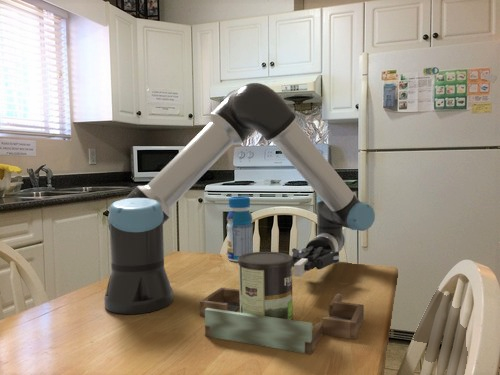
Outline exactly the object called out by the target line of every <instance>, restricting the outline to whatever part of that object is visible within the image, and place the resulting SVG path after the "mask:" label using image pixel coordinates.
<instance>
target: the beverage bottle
mask: <svg viewBox="0 0 500 375" xmlns="http://www.w3.org/2000/svg"><path fill="white" fill-rule="evenodd" d="M250 206H251V198H250V196H230V197H229V198H228V208H229V209H230V210H229V212H228V214H227V217H226V221H227V224H226V234H227V237H226V238H227V259H228V260H229V261H231V262H236V263H239V262H238V257H239V256H241V255H244V254H247V253H253V252H254V251H253V248H254V247H253V240H254V239H253V237H254V236H253V230H254V229H253V228H254V224H253V223H252V221H253V216H252V214H251V212H250V210H249V208H250Z"/></svg>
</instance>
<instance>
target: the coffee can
mask: <svg viewBox="0 0 500 375" xmlns="http://www.w3.org/2000/svg"><path fill="white" fill-rule="evenodd" d="M292 262H293V257H292V255H290V254H288V253H285V252H284V253H283V252H279V251H278V252H277V251H256V252H255V251H253V253H247V254H244V255H241V256H239V257H238V262H237V263H238V283H239V284H238V286H239V289H238V290H239V292H240V308H239V313H246V314H253V315H260V316H267V317H274V318H281V319H288V320H294V318H293V314H294V313H293V267H292Z"/></svg>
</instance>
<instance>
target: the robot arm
mask: <svg viewBox="0 0 500 375" xmlns="http://www.w3.org/2000/svg"><path fill="white" fill-rule="evenodd" d="M254 131H256V132H258V133H259V134H260V135H261V136H262V137H263V138H264V139H265V140H266V142H271V143H273V144H274V145H275V146H276V147H277V148H278V150H279V151H280V152H281V153H282V155H284V157H285V158H286V159H287V160H288V161H289V163H290V164H291V165H292V166H293V168H295V169H296V171H297V172H298V173H299V175H301V177H302V178H303V179H304V180H305V182H307V184H308V185H309V186H310V187H311V189H312V190H314V192H315V193H316V195H317V198H316V199H317V200H316V219H317V220H316V223H317V224H316V226H317V227H316V236H314V237H313V238H312V239H311V240H310V241H309V242H307V244H306V246H305V247H304V248H302V249H301V250H300V249H297V248H292V249H291V256H292V257H293V262H292V268H293V276H294V277H298V278H300V277H302V276H303V275H304V274H305V273H306V272H308V271H312V270H313V269H315V268H316V270H321V269H325V268H326V267H328V266H330V265H333V264H335V263H339V262H340V252H341V251H342V249H343V248H344V246H345V243H346V237H345V234H344V233H343V227H344V228H346V229H349V230H352V231H358V232H359V231H360V232H362V231H363V232H365V231H366V230H368V229H370V228H371V227H372V226H373V224H374V222H375V221H376V220H375V219H376V213H375V210H374V208H373V207H372V205H370V204H368V203H366V202H364V201H360V199H359V198H358V197H357V196H356V195H355V193H354V192H353V191H352V190H351V188H350V187H349V186H348V185H347V183H346V182H345V181H344V180H343V179H342V177H341V176H340V175H339V174H338V172H337V171H336V170H335V169H334V167H333V166H332V165H331V164H330V162H328V160H327V159H326V157H325V156H324V155H323V154H322V153H321V151H320V150H319V149H318V148H317V147H316V145H315V144H314V142H313V141H312V140H311V139H310V138H309V137H308V135H307V133H305V131H304V130H303V129H302V128H301V127H300V125H299V124H298V123H297V115H296V114H295V112H294V111H293V110H292V109H291V107H290V106H289V105H288V104H287V103H286V101H285V100H283V98H282V97H281V96H280V95H279V94H278V93H277V92H276V91H275V90H274V89H272V88H271V87H269V86H267V85H266V84H263V83H259V82H252V83H251V82H250V83H246V84H245V85H243V86H241V87H239V88H237V89H234V90H232V91H230V92H228V93H227V94H226V95H225V96H224V97H223V98H222V99H221V101H220V103H219V104H218V106H216V107H215V108H214V109H213V110H212V111H211V112H210V114H209V123H207V124H206V125H205V126H204V127H203V129H201V130H200V131H199V132H198V134H196V135H195V137H193V139H192V140H190V141H189V142H188V143H187V144H186V146H184V147H183V148H182V150H181V151H179V152H178V153H177V154H176V155H175V156H174V158H173V159H171V160H170V161H169V162H168V163H167V164H166V165H165V166H164V167H163V168H162V169H161V170H160V171H159V172H158V173H157V174H156V175H155V176H154V177H153V178H152V179H151V181H149V182H148V183H147V184H145V185H137V186H136V187H135V188H134V189H133V190H132V191H131V192H130V193H129V194H128V195H127V196H125V198H123V199H119V200H116V201H114V202H113V203H111V204H110V206H109V209H108V210H109V213H108V218H107V219H108V220H107V222H108V225H107V226H108V231H109V240H110V264H111V271H110V277H109V279H108V282H107V287H106V290H105V293H104V297H103V298H104V308H105V309H106V310H107V311H108V312H111V313H114V314H119V315H120V314H121V315H123V314H124V315H134V314H135V315H136V314H137V315H139V314H143V313H144V314H146V313H150V312H154V311H158V310H161V309H163V308H166V307H168V306H169V305H171V304H172V302H173V301H174V300H173V299H174V295H173V294H174V293H173V292H174V291H173V287H172V286H171V283H170V282H171V281H170V279H169V276H168V274H167V271H166V268H165V254H164V253H165V249H164V248H165V247H164V245H165V244H164V224H165V223H166V222H167V221H168V220H169V219H170V218H171V209H172V208H173V206H174V205H175V204H176V203H177V202H179V200H180V199H181V198H182V197H183V196H184V195H185V194H186V193H187V192H188V191H189V190H190V189H191V188H192V187H193V186H194V185H195V184H196V183H197V182H198V181H199V180H200V179H201V177H203V176H204V174H206V172H207V171H209V169H210V168H211V167H212V166H213V165H214V164H215V163H216V162H218V160H219V159H220V158H221V157H222V156H223V155H224V154H225V153H226V152H227V151H228V150H229V149H230V148H231V147H232V146H233V145H234V146H235V145H236V146H237V145H241V144H242V143H243V142H244V141H245V140H247V138H248V137H249V136H250V135H252V133H253V132H254Z"/></svg>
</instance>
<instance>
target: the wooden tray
mask: <svg viewBox="0 0 500 375" xmlns="http://www.w3.org/2000/svg"><path fill="white" fill-rule="evenodd" d="M364 308H365V305H364V304H359V303H353V302H352V303H351V302H344V301H343V302H342V293H336V294H335V295H334V296H333V299H332V300H331V302H330V303H329V305H328V315H330V316H331V317H330V316H323V317H322V323H321V322H319V323H318V322H316V324H315V325H314V327H313V322H308V321H307V322H306V321H301V320H294V319H293V320H288V319H281V318H274V317H267V316H260V315H253V314H246V313H240V311H238V310H240V292H239V289H235V288H229V287H228V288H227V287H220V288H218V289H217V290H215V291H214V292H212V293H210V294H209V295H208V296H205V297H204V298H203V299H201V300H200V301H199V316H202V317H204V334H205V335H204V336H205V337H208V338H214V339H220V340H227V341H231V342H238V343H243V344H250V345H253V346H254V345H255V346H261V347H266V348H272V349H278V350H284V351H288V352H289V351H290V352H295V353H299V354H300V353H301V354H306V355H312V353H313V351H314V350H315V347H316V346H317V344H318V343H319V341H320V340H321V338H322V337H323V335H324V336H331V337H338V338H345V339H352V340H356V339H357V337H358V334H359V333H360V329H361V328H362V324H363V322H364V320H365V316H364V312H365V309H364Z"/></svg>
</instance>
